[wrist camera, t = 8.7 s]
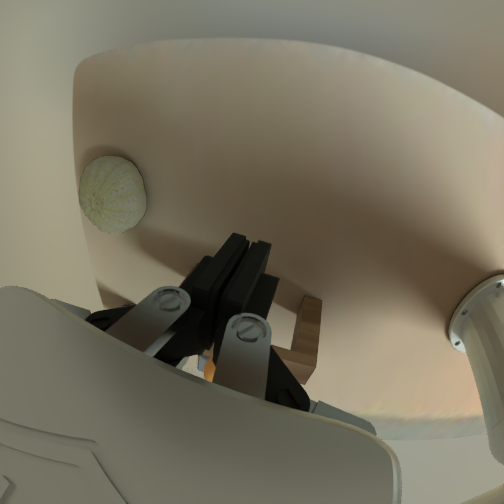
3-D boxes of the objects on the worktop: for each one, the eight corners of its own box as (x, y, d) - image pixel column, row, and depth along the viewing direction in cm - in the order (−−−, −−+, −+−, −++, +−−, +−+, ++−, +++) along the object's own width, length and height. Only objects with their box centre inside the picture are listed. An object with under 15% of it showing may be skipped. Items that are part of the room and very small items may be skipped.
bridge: (197, 263, 30) (156, 316, 23) (322, 300, 29) (315, 367, 21) (195, 283, 32) (158, 336, 24) (313, 319, 30) (304, 384, 22)
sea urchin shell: (85, 141, 24) (80, 173, 20) (148, 148, 29) (160, 180, 24) (76, 207, 29) (75, 250, 24) (131, 210, 34) (141, 250, 29)
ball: (238, 382, 38) (248, 352, 38) (235, 401, 33) (246, 370, 32) (204, 372, 38) (212, 342, 38) (196, 390, 33) (204, 358, 32)
